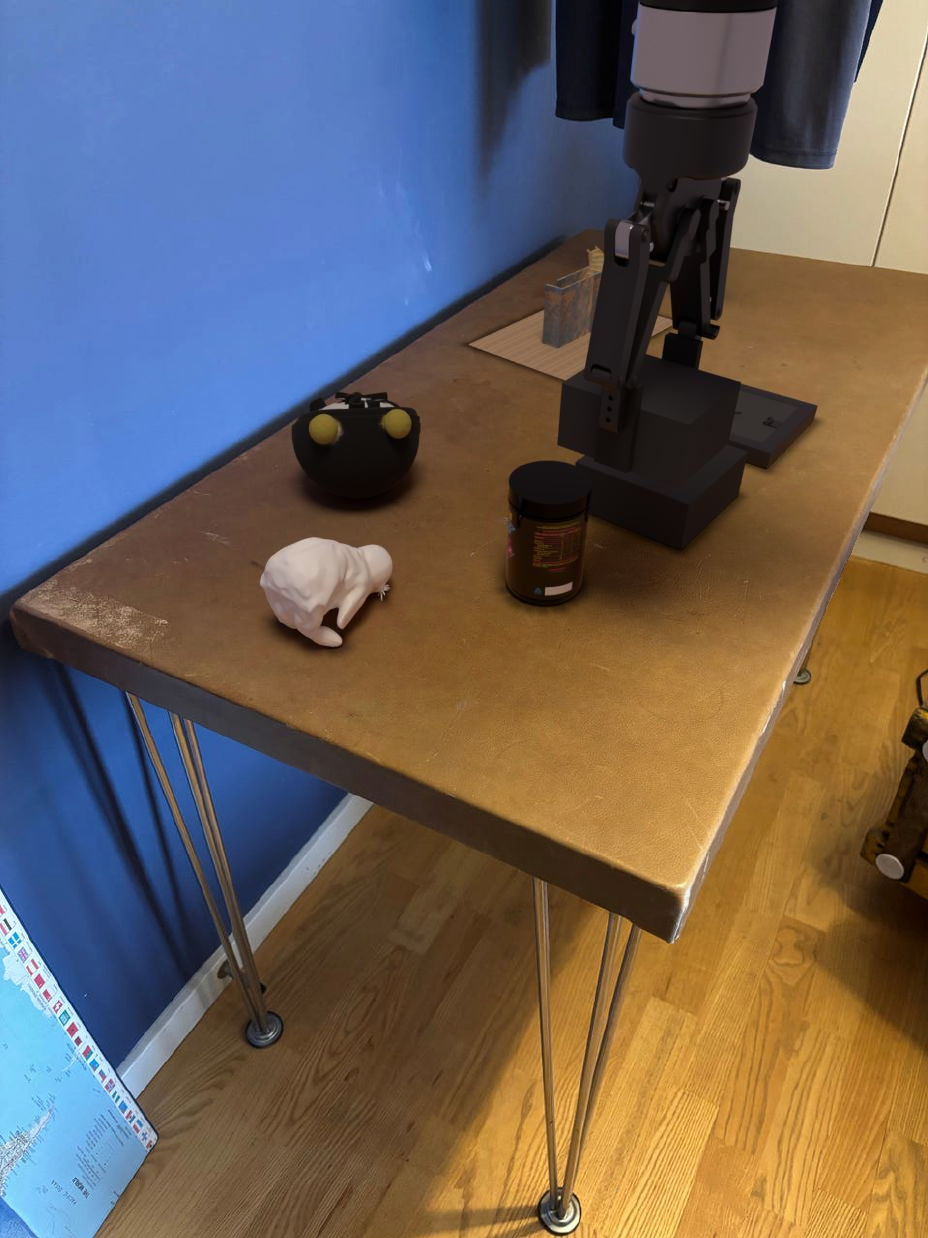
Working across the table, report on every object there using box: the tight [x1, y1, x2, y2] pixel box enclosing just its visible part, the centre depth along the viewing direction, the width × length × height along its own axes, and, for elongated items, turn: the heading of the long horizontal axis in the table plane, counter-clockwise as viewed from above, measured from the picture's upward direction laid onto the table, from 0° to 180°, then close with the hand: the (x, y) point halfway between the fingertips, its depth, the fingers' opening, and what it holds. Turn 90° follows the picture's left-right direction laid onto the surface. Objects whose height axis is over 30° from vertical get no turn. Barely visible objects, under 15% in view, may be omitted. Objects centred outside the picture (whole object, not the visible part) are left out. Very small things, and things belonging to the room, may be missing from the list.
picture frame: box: [728, 383, 819, 469], centre depth 102 cm, size 13×2×18 cm
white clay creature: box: [259, 536, 394, 648], centre depth 74 cm, size 6×8×12 cm
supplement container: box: [505, 459, 592, 606], centre depth 76 cm, size 7×7×10 cm
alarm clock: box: [291, 391, 422, 500], centre depth 89 cm, size 12×15×15 cm
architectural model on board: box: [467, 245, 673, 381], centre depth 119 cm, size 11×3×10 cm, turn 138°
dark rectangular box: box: [574, 445, 748, 551], centre depth 88 cm, size 12×12×5 cm
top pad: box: [556, 353, 742, 489], centre depth 66 cm, size 10×8×5 cm
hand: (643, 440), depth 68 cm, fingers closed on top pad, 8 cm apart
